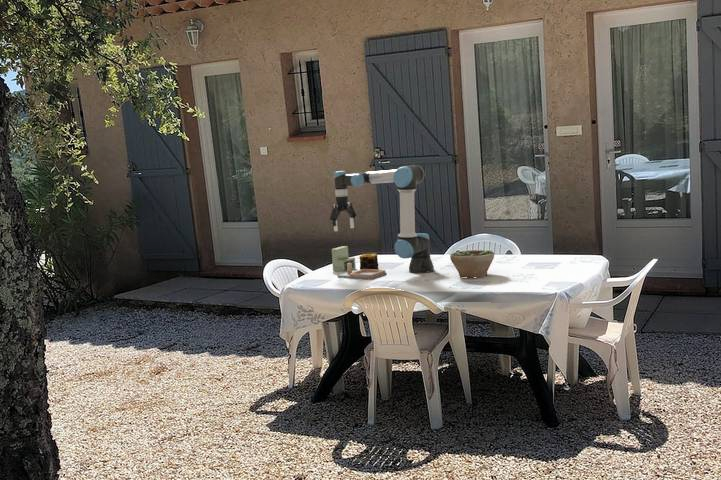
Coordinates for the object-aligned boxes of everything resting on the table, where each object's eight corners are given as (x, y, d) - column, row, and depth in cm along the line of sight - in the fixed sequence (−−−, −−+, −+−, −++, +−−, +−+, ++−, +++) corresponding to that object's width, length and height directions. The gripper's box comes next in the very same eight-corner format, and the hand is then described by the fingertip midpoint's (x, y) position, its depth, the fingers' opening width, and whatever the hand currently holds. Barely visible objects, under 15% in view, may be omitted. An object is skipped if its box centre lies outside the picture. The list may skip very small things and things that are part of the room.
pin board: (386, 274, 472) (385, 262, 471) (371, 279, 459) (370, 267, 458) (353, 272, 487) (352, 260, 486) (337, 277, 474) (336, 265, 473)
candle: (376, 272, 483) (374, 256, 482) (360, 272, 485) (358, 256, 484) (378, 268, 493) (377, 253, 492) (363, 269, 495) (362, 253, 494)
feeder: (356, 268, 500) (354, 246, 498) (344, 271, 490) (343, 249, 488) (344, 267, 505) (342, 246, 503) (333, 271, 496) (331, 249, 494)
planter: (446, 280, 444) (445, 254, 442) (456, 271, 467) (455, 246, 465) (491, 280, 435) (490, 253, 433) (499, 271, 458) (498, 246, 456)
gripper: (352, 193, 498) (354, 226, 501) (322, 198, 481) (325, 232, 484) (360, 193, 492) (362, 227, 495) (330, 198, 476) (333, 232, 479)
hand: (344, 229), depth 490 cm, fingers open, 13 cm apart
